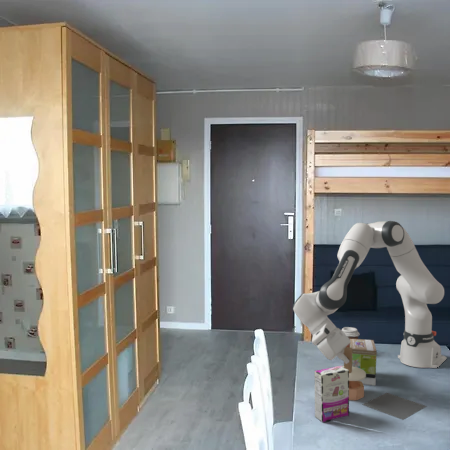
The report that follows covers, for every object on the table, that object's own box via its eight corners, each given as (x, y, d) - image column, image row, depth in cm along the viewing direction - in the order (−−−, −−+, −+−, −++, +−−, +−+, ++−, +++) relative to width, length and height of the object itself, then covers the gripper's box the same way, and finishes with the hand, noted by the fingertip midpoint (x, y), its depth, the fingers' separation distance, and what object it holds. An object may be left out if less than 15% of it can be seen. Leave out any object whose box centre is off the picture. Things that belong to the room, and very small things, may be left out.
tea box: (376, 387, 201) (377, 350, 200) (350, 385, 203) (350, 348, 202) (373, 373, 216) (373, 339, 214) (348, 371, 218) (349, 337, 217)
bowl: (344, 387, 201) (344, 376, 200) (368, 395, 192) (369, 384, 192) (326, 394, 194) (327, 383, 193) (351, 404, 185) (351, 392, 185)
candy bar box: (340, 410, 180) (341, 365, 179) (349, 416, 175) (350, 369, 174) (313, 416, 175) (313, 370, 174) (321, 422, 171) (322, 374, 170)
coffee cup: (362, 353, 241) (363, 328, 240) (353, 358, 234) (353, 333, 233) (345, 349, 247) (345, 325, 246) (335, 354, 240) (335, 329, 239)
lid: (336, 366, 201) (336, 341, 200) (369, 371, 195) (370, 346, 194) (325, 376, 190) (326, 350, 189) (360, 383, 183) (361, 356, 183)
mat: (386, 394, 194) (386, 392, 194) (426, 407, 182) (426, 406, 182) (362, 406, 184) (362, 404, 184) (403, 421, 172) (403, 419, 171)
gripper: (327, 329, 206) (351, 357, 202) (310, 343, 188) (335, 374, 184) (338, 320, 203) (362, 348, 199) (322, 333, 186) (348, 364, 182)
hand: (349, 360), depth 192 cm, fingers closed on lid, 2 cm apart
